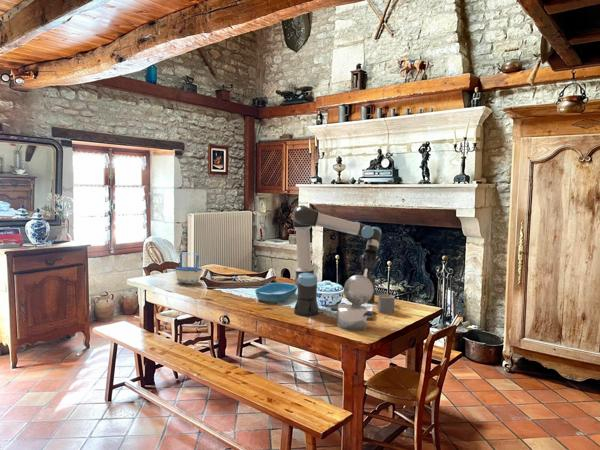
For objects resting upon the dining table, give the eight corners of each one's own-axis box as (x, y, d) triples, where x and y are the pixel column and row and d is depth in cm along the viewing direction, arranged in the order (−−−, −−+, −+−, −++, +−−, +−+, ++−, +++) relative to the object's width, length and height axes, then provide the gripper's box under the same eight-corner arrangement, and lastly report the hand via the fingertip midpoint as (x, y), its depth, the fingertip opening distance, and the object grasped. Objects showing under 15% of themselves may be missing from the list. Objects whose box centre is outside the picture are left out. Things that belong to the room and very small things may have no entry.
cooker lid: (345, 273, 245) (347, 273, 248) (341, 303, 242) (343, 304, 245) (374, 276, 238) (375, 276, 242) (371, 307, 235) (372, 307, 238)
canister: (374, 303, 283) (375, 274, 281) (358, 302, 285) (360, 273, 283) (374, 300, 293) (376, 271, 292) (359, 298, 295) (361, 270, 294)
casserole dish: (279, 305, 271) (279, 294, 270) (249, 301, 280) (249, 290, 279) (301, 294, 305) (302, 284, 304) (274, 290, 314) (274, 281, 313)
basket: (204, 283, 331) (205, 253, 329) (187, 286, 318) (187, 255, 316) (188, 279, 344) (189, 250, 342) (171, 282, 331) (171, 252, 329)
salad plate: (372, 320, 244) (372, 315, 244) (336, 317, 248) (336, 312, 247) (372, 311, 265) (372, 306, 265) (338, 308, 269) (338, 303, 268)
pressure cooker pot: (326, 326, 229) (327, 308, 228) (336, 319, 243) (336, 302, 243) (369, 333, 220) (369, 314, 219) (375, 325, 234) (376, 307, 234)
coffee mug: (392, 314, 257) (393, 298, 256) (376, 312, 261) (376, 296, 260) (396, 309, 269) (396, 294, 269) (380, 307, 273) (381, 292, 272)
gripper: (382, 252, 264) (376, 283, 250) (362, 251, 269) (354, 281, 255) (381, 245, 259) (374, 276, 245) (361, 243, 264) (353, 274, 250)
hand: (364, 279), depth 250 cm, fingers closed
